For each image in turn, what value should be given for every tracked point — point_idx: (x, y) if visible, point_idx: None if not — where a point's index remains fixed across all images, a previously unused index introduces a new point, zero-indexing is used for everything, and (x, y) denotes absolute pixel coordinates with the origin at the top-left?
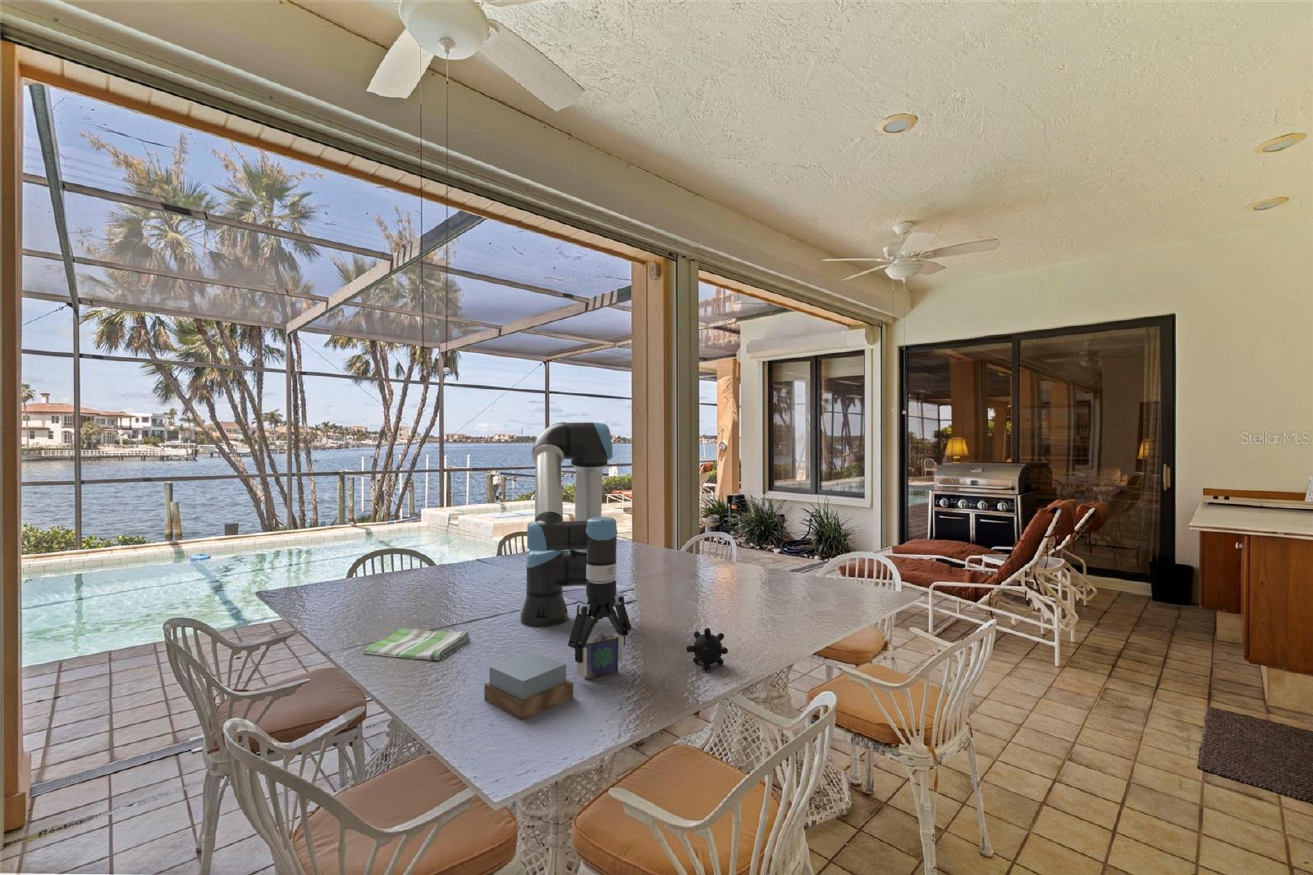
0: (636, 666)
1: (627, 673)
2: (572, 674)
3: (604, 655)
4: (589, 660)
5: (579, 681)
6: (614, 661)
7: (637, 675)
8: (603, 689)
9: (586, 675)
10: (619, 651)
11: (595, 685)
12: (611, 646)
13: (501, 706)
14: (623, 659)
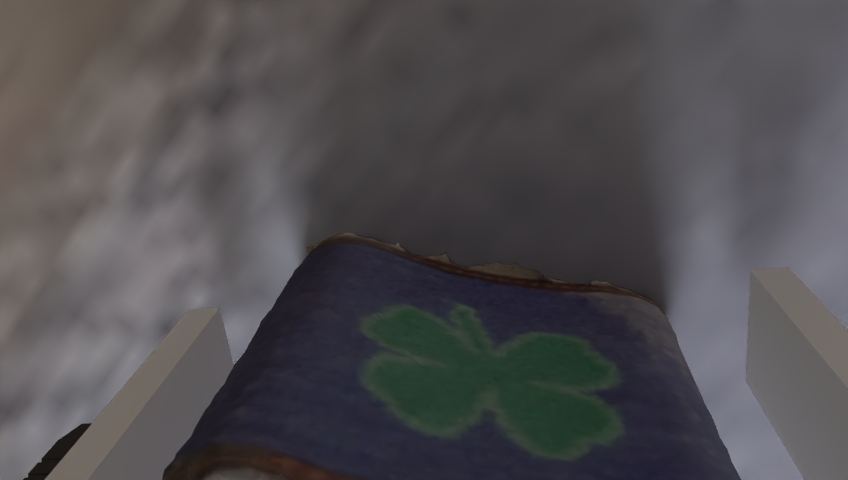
0: (81, 232)
1: (249, 159)
2: None
3: (459, 379)
4: (687, 400)
5: (735, 321)
6: (338, 291)
7: (189, 48)
8: (701, 2)
9: (753, 272)
10: (183, 398)
11: (690, 144)
12: (341, 414)
13: None
14: (181, 319)
